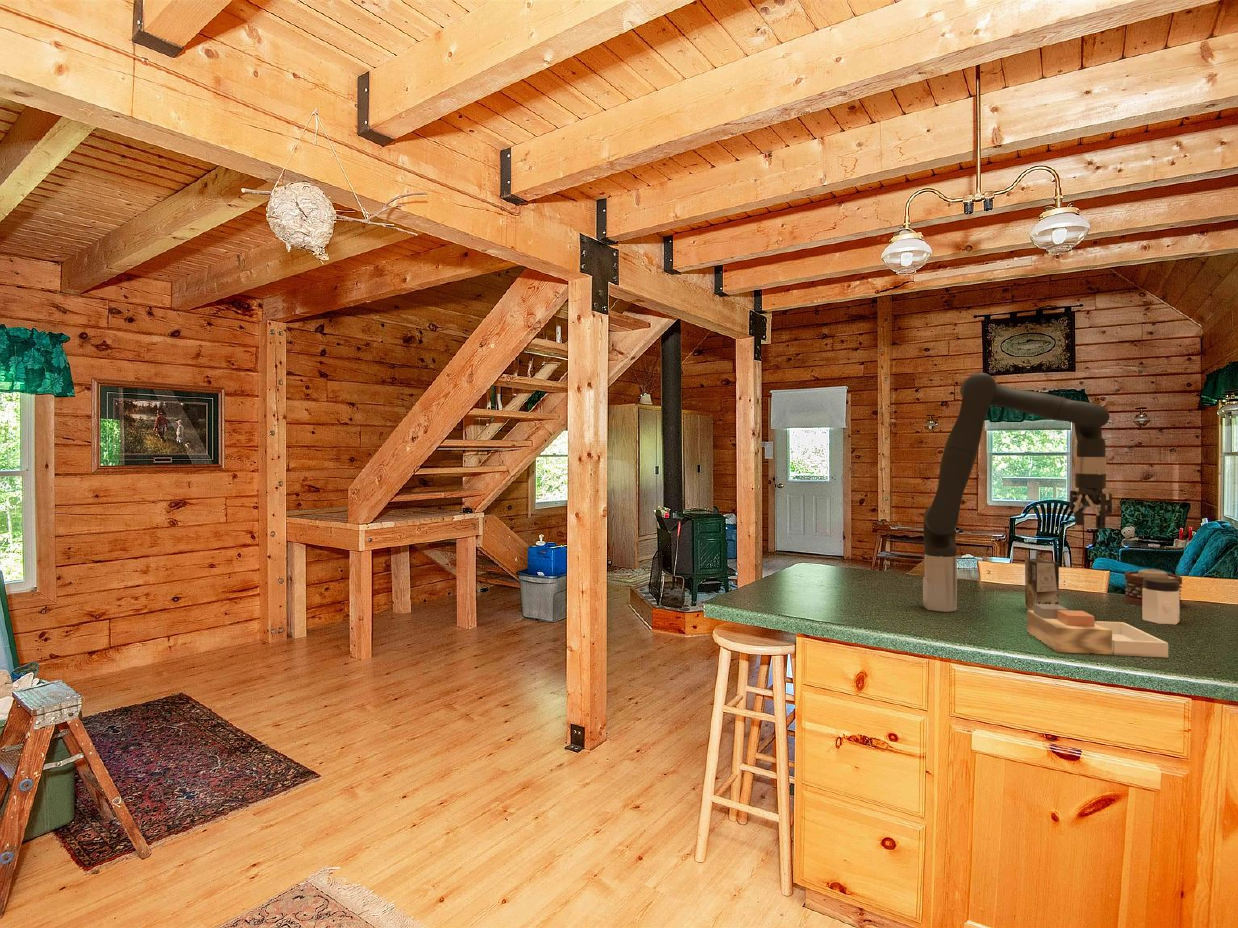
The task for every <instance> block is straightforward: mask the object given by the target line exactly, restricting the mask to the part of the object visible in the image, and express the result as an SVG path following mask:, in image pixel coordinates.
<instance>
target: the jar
mask: <svg viewBox="0 0 1238 928" xmlns="http://www.w3.org/2000/svg"><path fill="white" fill-rule="evenodd" d="M1179 586H1180V585H1179V582H1178V581H1177V580H1172V579H1166V578H1144V579H1143V587H1144V588H1142V608H1141V611H1142V613H1141V615H1142V616H1141V618H1142V619H1141V620H1143V621H1145V622H1150V623H1154V624H1158V625H1176V626H1177V624H1178V623H1180V608H1179V596H1180V595H1179V593H1180V592H1179Z"/></svg>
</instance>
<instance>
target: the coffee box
mask: <svg viewBox="0 0 1238 928" xmlns="http://www.w3.org/2000/svg"><path fill="white" fill-rule="evenodd" d="M1059 580H1060V563H1059V562H1057V561H1054V560H1052V559H1047V558H1024V582H1025V583H1024V584H1025V585H1024V586H1025V587H1024V588H1025V592H1024V593H1025V601H1024V602H1025V606H1024V607H1025V608H1024V609H1025V610H1026V611H1027V610H1034V604H1058V605H1060V595H1059V594H1060V589H1059V587H1060V581H1059Z"/></svg>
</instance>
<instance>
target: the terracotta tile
mask: <svg viewBox="0 0 1238 928" xmlns="http://www.w3.org/2000/svg"><path fill="white" fill-rule="evenodd" d="M1057 620H1059V621H1061V622H1062V623H1064V624H1066V625H1068V626H1094V627H1095V616H1094V615H1093V614H1090V613H1088V612H1086V611H1084V610H1069V609H1068V610H1057Z"/></svg>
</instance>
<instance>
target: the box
mask: <svg viewBox="0 0 1238 928" xmlns="http://www.w3.org/2000/svg"><path fill="white" fill-rule="evenodd" d="M1095 622H1097V623H1099V624H1101V625H1103V626H1105V627H1107V628H1109V629H1111V630H1112V654H1111V655H1114V656H1123V657H1148V658H1167V659H1168V658H1169V643H1168V642H1167V641H1165V640H1162V639H1160V638H1158V637H1156V636H1154V635H1152V634H1149V633H1147V632H1146V631H1143V630H1141V629H1139V628H1136V627H1135V626H1132V625H1131V624H1128V623H1126V622H1123V621H1103V620H1102V621H1098V620H1097V621H1095Z"/></svg>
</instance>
